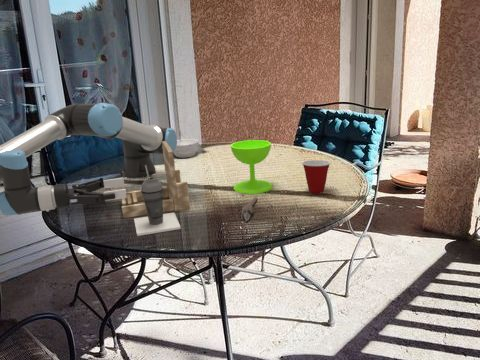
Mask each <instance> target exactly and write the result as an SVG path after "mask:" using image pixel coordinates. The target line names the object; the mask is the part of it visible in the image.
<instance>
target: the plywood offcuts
mask: <svg viewBox="0 0 480 360" xmlns="http://www.w3.org/2000/svg"><path fill="white" fill-rule="evenodd" d="M131 192H132V191H131ZM132 197H133V203H132V202H131V197H130V194H129V195H127V200H128V203H126V201H125V198H123V199H122V204H121V205H122V206H127V205H134V204H139V203H138V202H137V198H136V194H135V192H132Z"/></svg>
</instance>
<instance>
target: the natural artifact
mask: <svg viewBox="0 0 480 360" xmlns="http://www.w3.org/2000/svg"><path fill="white" fill-rule="evenodd" d="M258 199H259V198H258V197H254V198H253V199H252V200H250V201H249V202H248V203H247V204H245V205H243V206H242V207H241V210H242V211H241V215H242V217H243V218H244V221H245V222H249V220H250V218H252V214H253V213H254V205H255V203H256V202H257V201H258Z"/></svg>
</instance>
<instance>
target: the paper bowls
mask: <svg viewBox="0 0 480 360" xmlns="http://www.w3.org/2000/svg"><path fill="white" fill-rule="evenodd" d="M199 150H200V145H199V140H198V139H195V138H180V139H177V145H176V149H175V151H174V152H173V155H175V157H176V158H180V159H181V158H182V159H184V158H186V159H187V158H191V157H194V156H195V155H196V153H197V152H198V151H199Z"/></svg>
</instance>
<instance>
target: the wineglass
mask: <svg viewBox="0 0 480 360" xmlns="http://www.w3.org/2000/svg"><path fill="white" fill-rule="evenodd" d="M271 145H272V142H270V141H269V140H263V139H248V140H242V141H241V140H240V141H236V142H233V143H231V144H230V149H231V152H232V155H233V156H234V157H235V159H236V160H237V161H239V162H241V163H242V164H245V165H249V177H250V179H248V180H244V181H241V182H237V184H235V185H234V186H233V191H234V190H235V191H234V192H236V193H238V192H239V194H242V193H245V194H246V195H257V194H262V193H267V192H269V191H271V190H272V189H273V188H274V186H273V184H272V183H270V182H269V181H267V180H263V179H256V169H255V165H257V164H259V163H261V162H263V161H265V159H266V158H267V157H268V155H269V153H270V151H271V148H272V147H271ZM245 194H244V195H245Z"/></svg>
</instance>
